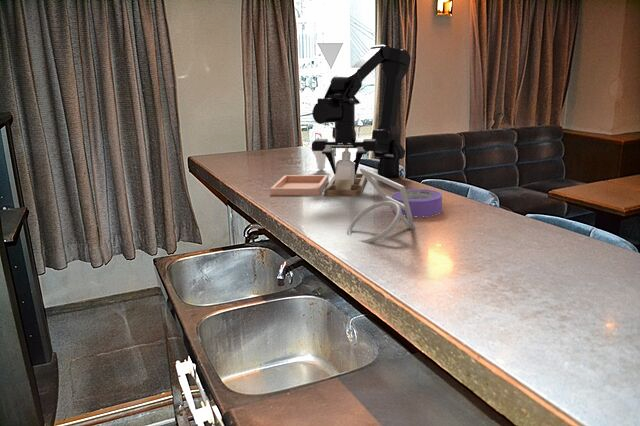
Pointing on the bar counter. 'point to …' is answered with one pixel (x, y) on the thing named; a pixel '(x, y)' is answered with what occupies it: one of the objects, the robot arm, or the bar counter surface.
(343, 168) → the eye dropper bottle
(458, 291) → the bar counter surface
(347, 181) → the block
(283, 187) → the tray
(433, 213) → the tape roll
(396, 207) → the wire frame
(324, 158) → the lightbulb
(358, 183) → the frame
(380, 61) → the robot arm
